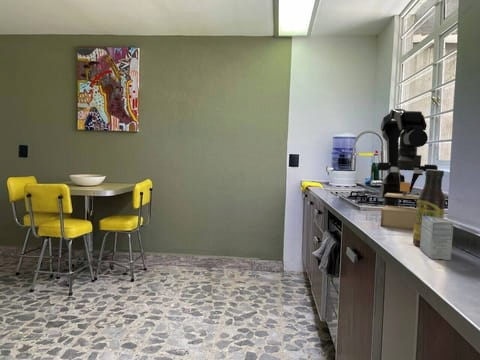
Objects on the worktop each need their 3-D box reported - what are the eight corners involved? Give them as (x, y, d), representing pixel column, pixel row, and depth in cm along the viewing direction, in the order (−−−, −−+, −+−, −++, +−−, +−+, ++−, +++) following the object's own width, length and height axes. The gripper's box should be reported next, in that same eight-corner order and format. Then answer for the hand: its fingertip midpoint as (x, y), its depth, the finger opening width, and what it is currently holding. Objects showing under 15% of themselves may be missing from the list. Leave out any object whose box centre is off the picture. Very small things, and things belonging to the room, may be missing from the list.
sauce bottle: (407, 243, 91) (413, 168, 90) (423, 242, 94) (429, 169, 92) (429, 250, 85) (436, 170, 84) (446, 248, 88) (453, 170, 86)
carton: (384, 218, 126) (385, 203, 126) (421, 223, 121) (422, 207, 120) (380, 226, 113) (381, 209, 113) (421, 231, 108) (423, 213, 107)
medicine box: (451, 261, 77) (454, 223, 77) (429, 259, 78) (432, 221, 78) (438, 251, 85) (441, 216, 84) (418, 249, 86) (421, 215, 85)
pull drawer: (387, 194, 127) (388, 180, 127) (423, 197, 122) (424, 183, 122) (385, 196, 121) (386, 181, 121) (423, 199, 116) (424, 184, 115)
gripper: (376, 146, 117) (373, 192, 119) (440, 148, 109) (436, 197, 110) (380, 147, 127) (377, 189, 128) (438, 148, 119) (434, 193, 120)
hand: (404, 192), depth 121 cm, fingers closed on pull drawer, 3 cm apart
